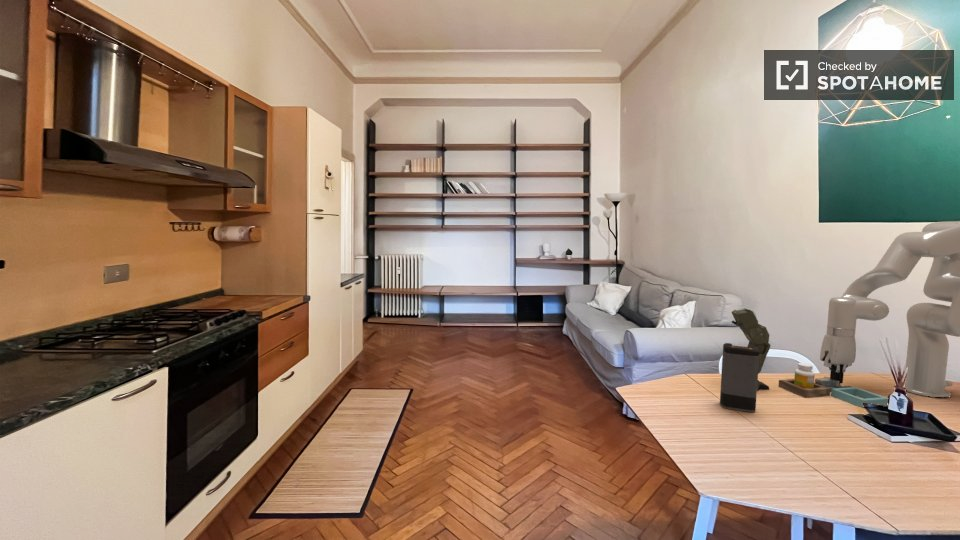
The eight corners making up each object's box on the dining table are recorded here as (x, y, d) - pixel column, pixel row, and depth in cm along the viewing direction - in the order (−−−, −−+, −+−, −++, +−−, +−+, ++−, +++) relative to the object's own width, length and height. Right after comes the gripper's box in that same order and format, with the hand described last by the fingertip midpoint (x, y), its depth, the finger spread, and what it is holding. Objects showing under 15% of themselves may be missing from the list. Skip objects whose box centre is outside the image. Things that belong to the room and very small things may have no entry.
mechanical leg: (770, 381, 148) (754, 303, 146) (782, 388, 140) (766, 307, 139) (731, 388, 149) (715, 311, 147) (742, 396, 142) (725, 315, 140)
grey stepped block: (825, 384, 145) (826, 376, 145) (838, 389, 140) (839, 381, 140) (811, 385, 144) (812, 377, 144) (824, 390, 140) (824, 381, 139)
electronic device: (752, 406, 128) (756, 345, 126) (756, 413, 123) (760, 350, 121) (719, 401, 132) (722, 342, 130) (721, 408, 127) (725, 346, 125)
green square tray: (854, 393, 138) (855, 386, 138) (888, 406, 129) (889, 398, 128) (830, 395, 137) (831, 388, 137) (863, 408, 127) (863, 400, 127)
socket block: (801, 385, 146) (802, 378, 146) (829, 395, 137) (830, 388, 136) (778, 386, 145) (778, 379, 145) (804, 397, 135) (805, 390, 135)
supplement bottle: (789, 388, 143) (791, 362, 142) (803, 388, 144) (805, 361, 143) (803, 394, 138) (805, 367, 137) (817, 393, 138) (819, 366, 137)
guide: (837, 385, 146) (837, 381, 146) (851, 390, 141) (851, 386, 141) (809, 387, 144) (810, 383, 144) (823, 392, 139) (823, 388, 139)
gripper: (846, 329, 146) (842, 377, 148) (812, 330, 144) (808, 379, 145) (869, 334, 139) (864, 385, 140) (833, 335, 136) (829, 387, 138)
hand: (836, 382), depth 143 cm, fingers closed
